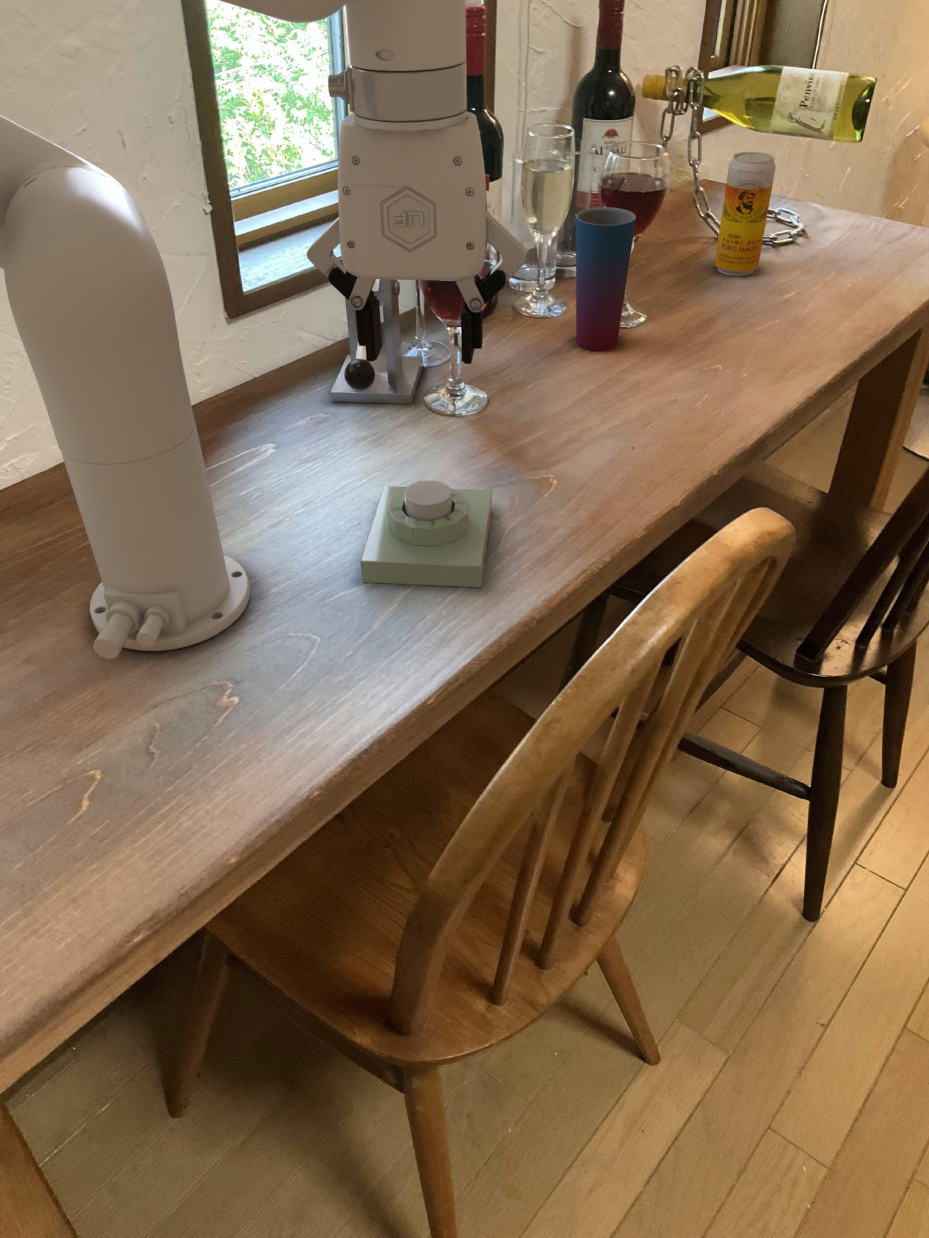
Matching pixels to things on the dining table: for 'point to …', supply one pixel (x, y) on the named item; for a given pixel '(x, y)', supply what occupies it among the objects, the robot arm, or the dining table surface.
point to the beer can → (744, 213)
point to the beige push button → (428, 500)
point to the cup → (601, 274)
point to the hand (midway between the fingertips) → (421, 353)
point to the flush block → (428, 542)
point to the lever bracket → (382, 359)
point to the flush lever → (362, 359)
